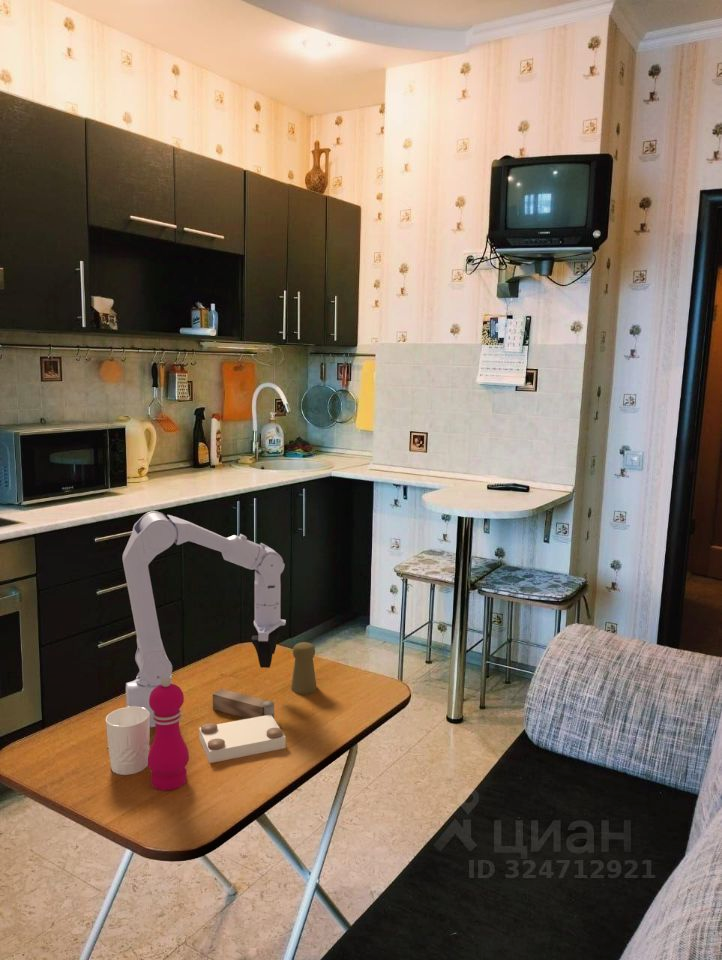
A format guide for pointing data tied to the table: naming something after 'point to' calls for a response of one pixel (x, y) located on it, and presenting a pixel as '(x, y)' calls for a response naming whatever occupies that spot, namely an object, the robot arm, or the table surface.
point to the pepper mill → (167, 738)
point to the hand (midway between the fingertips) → (267, 660)
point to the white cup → (128, 739)
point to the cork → (303, 669)
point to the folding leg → (241, 704)
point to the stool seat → (241, 738)
